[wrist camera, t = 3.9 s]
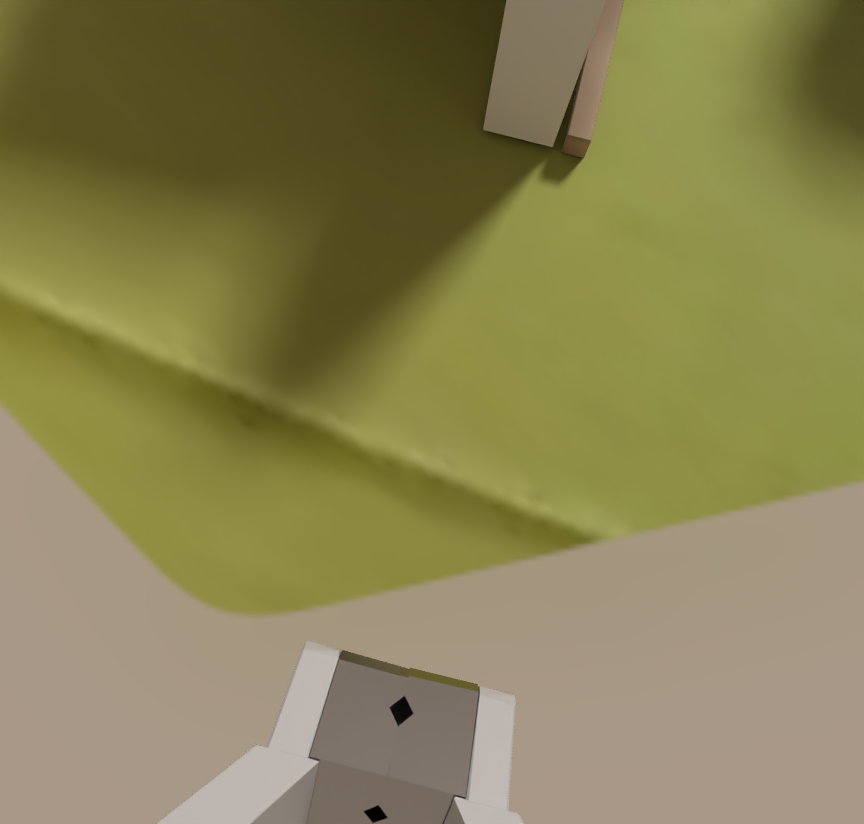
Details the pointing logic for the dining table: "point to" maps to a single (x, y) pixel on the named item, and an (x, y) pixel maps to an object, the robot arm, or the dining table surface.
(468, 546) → the dining table surface
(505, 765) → the robot arm
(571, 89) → the door
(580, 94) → the cabinet
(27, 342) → the dining table surface
